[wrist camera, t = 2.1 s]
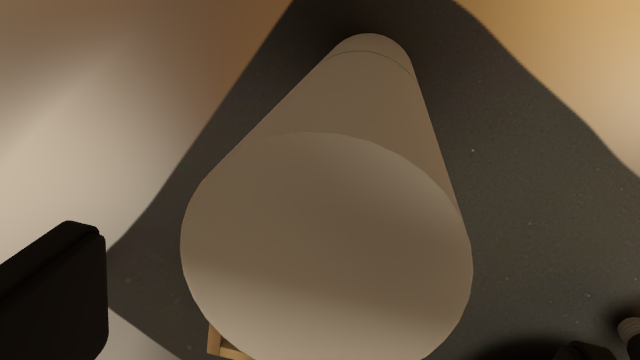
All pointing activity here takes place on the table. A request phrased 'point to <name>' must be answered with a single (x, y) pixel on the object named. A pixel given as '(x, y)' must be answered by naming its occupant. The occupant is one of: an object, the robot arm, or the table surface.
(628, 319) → the light bulb
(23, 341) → the robot arm
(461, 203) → the table surface
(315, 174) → the cylindrical container
